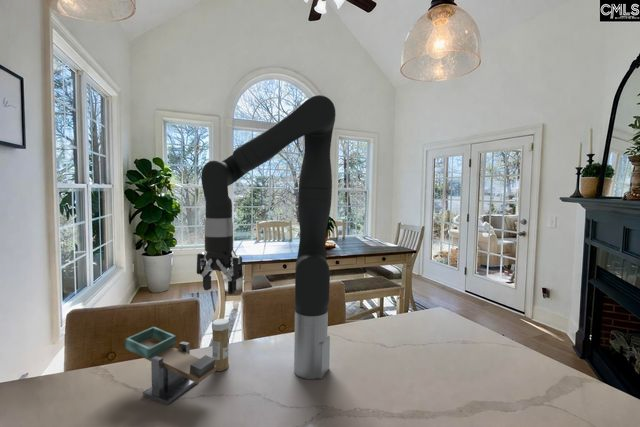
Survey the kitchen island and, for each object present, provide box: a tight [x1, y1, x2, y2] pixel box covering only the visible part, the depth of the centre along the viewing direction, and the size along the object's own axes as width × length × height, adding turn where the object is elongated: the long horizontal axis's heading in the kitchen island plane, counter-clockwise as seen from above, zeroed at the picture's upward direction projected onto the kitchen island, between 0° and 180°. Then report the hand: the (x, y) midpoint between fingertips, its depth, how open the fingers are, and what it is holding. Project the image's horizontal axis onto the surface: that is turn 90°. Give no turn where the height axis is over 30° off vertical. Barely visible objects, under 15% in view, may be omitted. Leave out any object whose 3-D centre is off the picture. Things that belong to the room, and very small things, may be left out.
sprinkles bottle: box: [211, 318, 230, 372], centre depth 91 cm, size 5×5×13 cm
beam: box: [124, 326, 217, 385], centre depth 80 cm, size 23×8×4 cm, turn 68°
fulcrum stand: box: [142, 341, 197, 406], centre depth 80 cm, size 8×10×10 cm
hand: (219, 291), depth 89 cm, fingers open, 8 cm apart
